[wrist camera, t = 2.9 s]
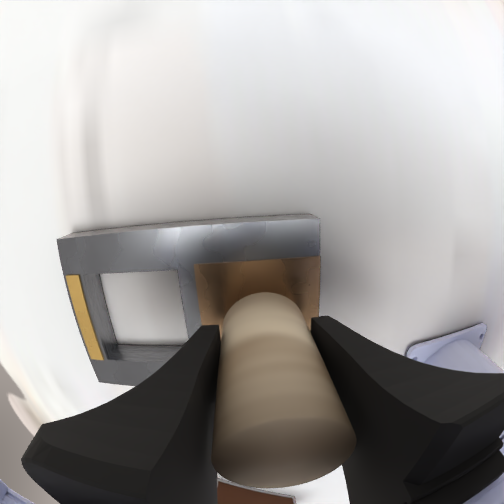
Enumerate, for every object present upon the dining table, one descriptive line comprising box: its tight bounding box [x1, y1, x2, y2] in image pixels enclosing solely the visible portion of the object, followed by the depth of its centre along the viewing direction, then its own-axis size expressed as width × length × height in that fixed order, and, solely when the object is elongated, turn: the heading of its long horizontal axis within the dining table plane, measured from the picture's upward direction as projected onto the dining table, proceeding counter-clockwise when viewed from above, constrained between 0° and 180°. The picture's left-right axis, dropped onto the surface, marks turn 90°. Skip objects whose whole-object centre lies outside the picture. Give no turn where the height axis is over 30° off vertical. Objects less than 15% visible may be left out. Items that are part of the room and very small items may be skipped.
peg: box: [211, 292, 356, 488], centre depth 8 cm, size 3×3×6 cm
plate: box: [57, 214, 321, 386], centre depth 12 cm, size 8×12×2 cm
